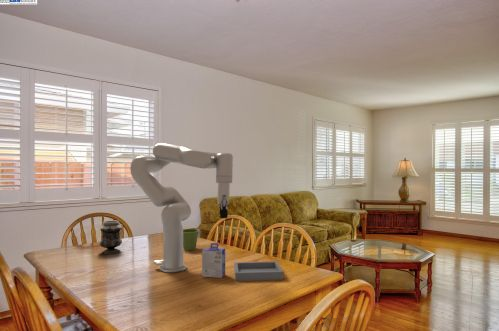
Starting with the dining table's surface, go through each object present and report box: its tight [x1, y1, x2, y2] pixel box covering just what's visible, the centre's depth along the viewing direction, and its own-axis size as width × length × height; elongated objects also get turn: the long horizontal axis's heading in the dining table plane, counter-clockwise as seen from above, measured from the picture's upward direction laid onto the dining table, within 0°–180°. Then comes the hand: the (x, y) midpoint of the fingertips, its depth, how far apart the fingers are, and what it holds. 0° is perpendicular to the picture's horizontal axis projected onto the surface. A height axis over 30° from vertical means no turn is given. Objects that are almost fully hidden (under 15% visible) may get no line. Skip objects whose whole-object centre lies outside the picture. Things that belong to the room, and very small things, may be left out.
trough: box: [233, 260, 284, 282], centre depth 154 cm, size 21×16×4 cm
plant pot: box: [183, 228, 200, 251], centre depth 201 cm, size 12×12×11 cm
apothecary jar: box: [99, 220, 123, 255], centre depth 195 cm, size 12×12×18 cm
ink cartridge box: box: [201, 242, 226, 279], centre depth 153 cm, size 10×6×14 cm, turn 78°
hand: (223, 216), depth 155 cm, fingers open, 9 cm apart
